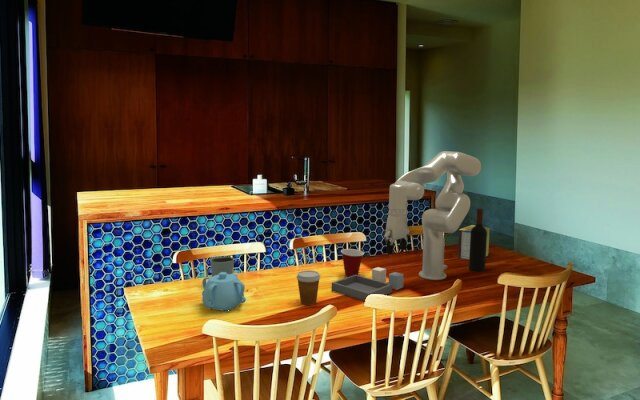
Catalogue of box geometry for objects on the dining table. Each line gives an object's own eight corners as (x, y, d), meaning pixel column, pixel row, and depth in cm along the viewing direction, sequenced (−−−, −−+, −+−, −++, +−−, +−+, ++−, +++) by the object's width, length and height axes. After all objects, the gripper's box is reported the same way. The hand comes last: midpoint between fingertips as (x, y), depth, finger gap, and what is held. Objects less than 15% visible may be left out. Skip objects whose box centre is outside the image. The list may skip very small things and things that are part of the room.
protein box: (488, 255, 283) (490, 227, 280) (475, 261, 271) (477, 232, 269) (470, 252, 290) (471, 224, 287) (457, 258, 278) (458, 229, 276)
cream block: (377, 279, 241) (378, 267, 240) (385, 281, 238) (386, 269, 237) (371, 281, 238) (372, 269, 237) (379, 284, 235) (380, 271, 234)
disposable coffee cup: (301, 308, 205) (301, 278, 203) (293, 300, 214) (293, 271, 212) (324, 304, 209) (324, 275, 207) (314, 297, 217) (314, 269, 216)
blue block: (394, 285, 234) (394, 272, 233) (403, 287, 230) (403, 274, 230) (388, 287, 230) (388, 274, 229) (397, 289, 227) (397, 276, 226)
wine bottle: (467, 271, 255) (470, 209, 250) (469, 267, 262) (472, 207, 257) (484, 272, 252) (487, 211, 247) (485, 268, 259) (489, 208, 254)
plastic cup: (362, 280, 240) (362, 254, 238) (338, 278, 242) (339, 253, 240) (365, 273, 250) (365, 248, 248) (342, 272, 252) (342, 247, 250)
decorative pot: (201, 301, 213) (200, 268, 210) (241, 297, 217) (240, 265, 215) (203, 316, 197) (202, 281, 195) (246, 311, 201) (246, 277, 199)
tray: (355, 282, 237) (355, 274, 236) (391, 292, 223) (392, 284, 223) (331, 290, 225) (331, 282, 225) (368, 302, 212) (368, 293, 211)
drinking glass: (206, 287, 229) (205, 260, 227) (218, 280, 238) (218, 255, 236) (227, 290, 225) (226, 263, 224) (238, 283, 235) (238, 257, 233)
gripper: (402, 209, 234) (400, 246, 236) (378, 214, 221) (377, 253, 224) (416, 211, 229) (415, 249, 231) (392, 216, 216) (391, 257, 219)
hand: (396, 251), depth 228 cm, fingers open, 9 cm apart
